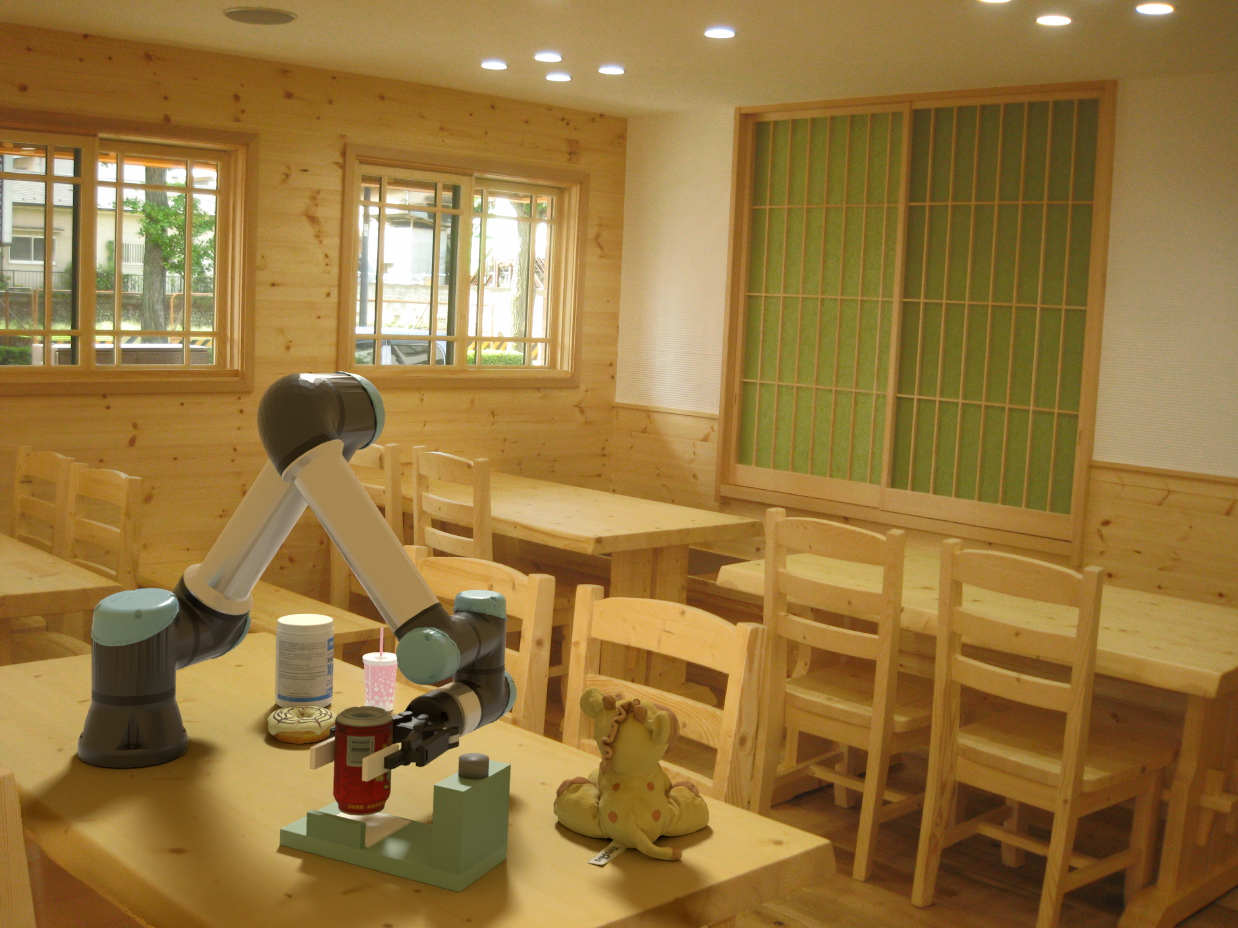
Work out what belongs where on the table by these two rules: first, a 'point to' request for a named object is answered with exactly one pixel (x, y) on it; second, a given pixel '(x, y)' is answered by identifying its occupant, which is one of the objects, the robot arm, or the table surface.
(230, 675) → the table surface
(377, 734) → the soda can
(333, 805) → the green stepped fixture
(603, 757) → the giraffe plush
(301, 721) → the decorated donut
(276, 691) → the supplement tub
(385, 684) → the beverage cup
